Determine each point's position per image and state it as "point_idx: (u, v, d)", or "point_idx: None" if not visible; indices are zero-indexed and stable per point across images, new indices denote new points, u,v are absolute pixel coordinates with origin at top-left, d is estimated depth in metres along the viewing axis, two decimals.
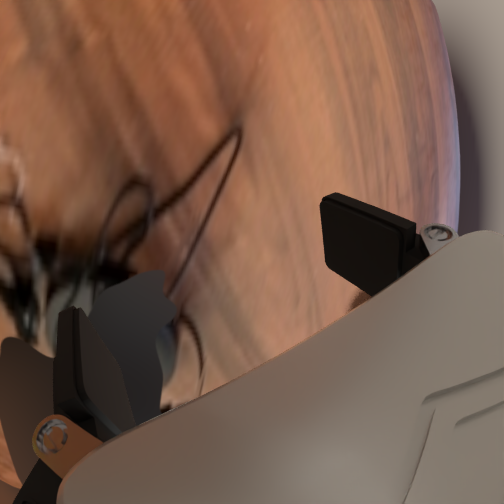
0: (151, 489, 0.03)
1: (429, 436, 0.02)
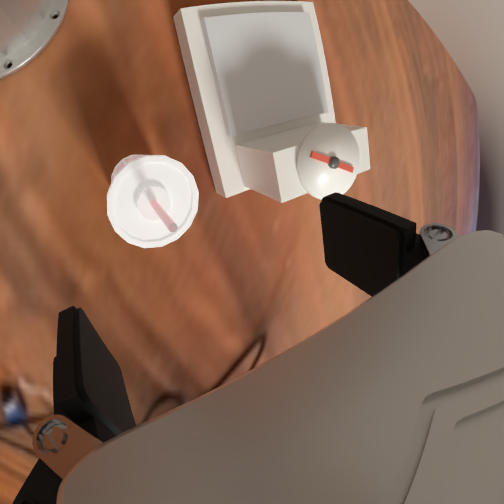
0: (151, 489, 0.03)
1: (429, 436, 0.02)
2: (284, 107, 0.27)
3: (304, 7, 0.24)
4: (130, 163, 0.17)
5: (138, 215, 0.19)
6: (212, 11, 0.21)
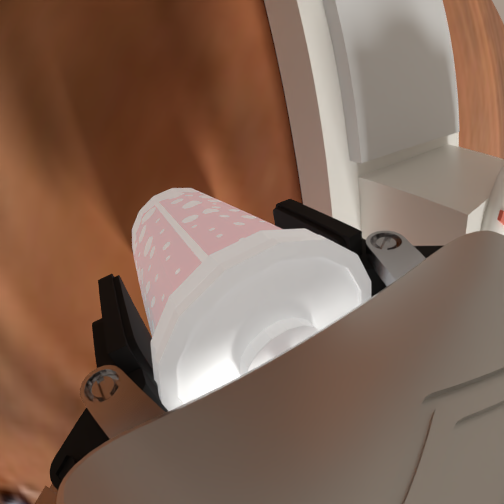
0: (151, 489, 0.03)
1: (429, 436, 0.02)
2: (423, 120, 0.15)
3: None
4: (230, 269, 0.06)
5: None
6: None
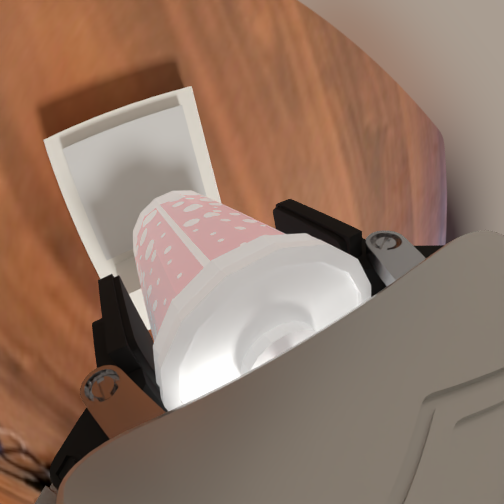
0: (151, 489, 0.03)
1: (429, 436, 0.02)
2: None
3: (180, 96, 0.25)
4: (232, 274, 0.06)
5: None
6: (73, 135, 0.22)
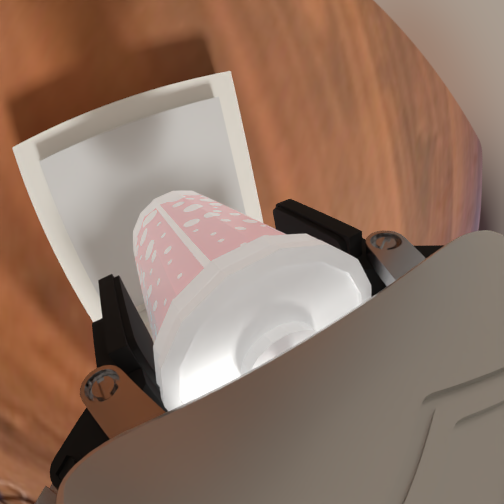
0: (151, 489, 0.03)
1: (429, 436, 0.02)
2: None
3: (214, 85, 0.17)
4: (232, 275, 0.06)
5: None
6: (56, 139, 0.14)
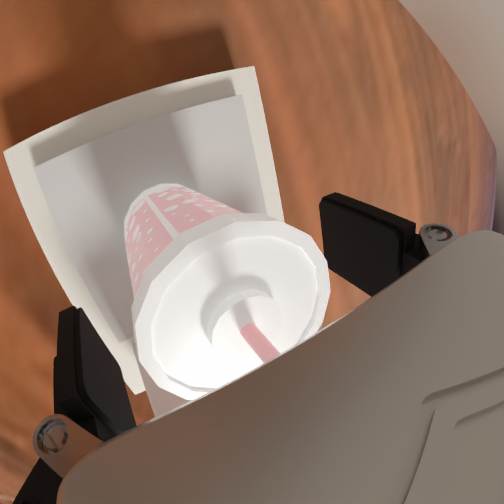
0: (151, 489, 0.03)
1: (429, 436, 0.02)
2: None
3: (236, 81, 0.15)
4: (193, 242, 0.07)
5: (208, 351, 0.09)
6: (53, 141, 0.12)
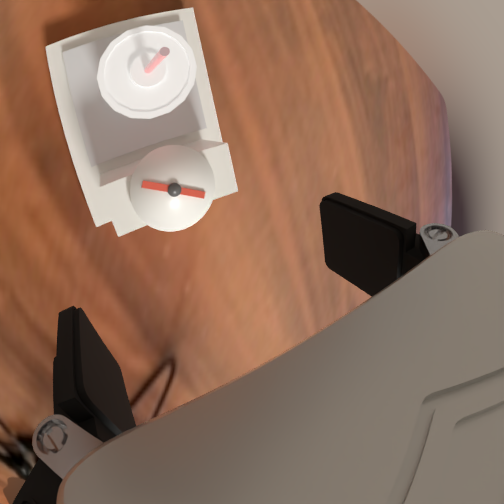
0: (151, 489, 0.03)
1: (429, 436, 0.02)
2: (149, 129, 0.25)
3: (181, 15, 0.22)
4: (129, 30, 0.14)
5: (129, 82, 0.15)
6: (75, 42, 0.19)
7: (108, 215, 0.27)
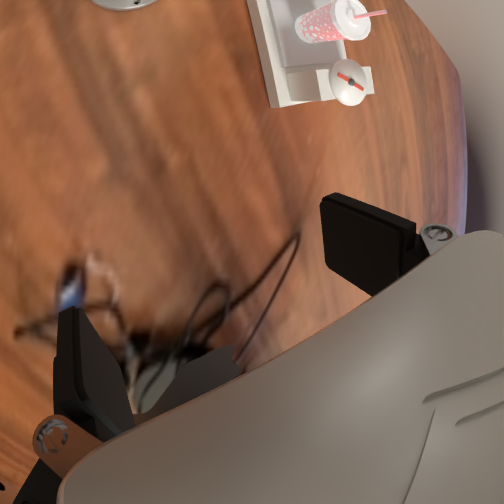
0: (151, 489, 0.03)
1: (429, 436, 0.02)
2: (316, 54, 0.37)
3: None
4: None
5: (346, 20, 0.27)
6: None
7: (288, 101, 0.39)
